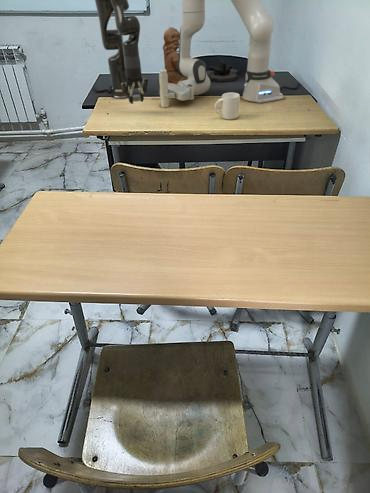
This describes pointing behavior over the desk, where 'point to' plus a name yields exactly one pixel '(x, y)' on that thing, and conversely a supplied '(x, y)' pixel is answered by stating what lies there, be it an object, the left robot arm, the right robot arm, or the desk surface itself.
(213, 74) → the abstract sculpture
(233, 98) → the mug
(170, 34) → the sculpture
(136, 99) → the lid
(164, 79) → the beige tapered cylinder
